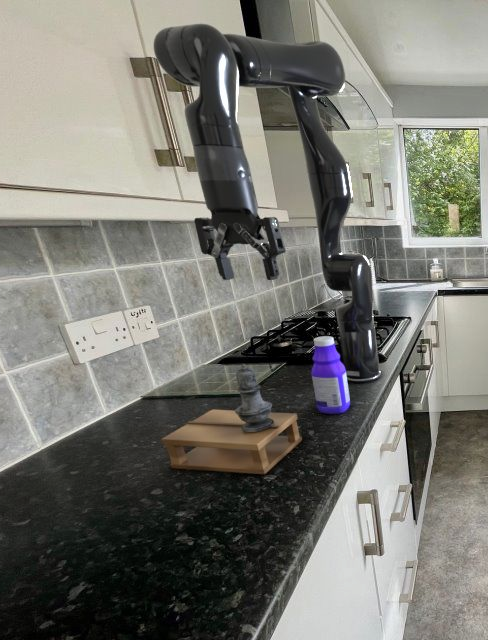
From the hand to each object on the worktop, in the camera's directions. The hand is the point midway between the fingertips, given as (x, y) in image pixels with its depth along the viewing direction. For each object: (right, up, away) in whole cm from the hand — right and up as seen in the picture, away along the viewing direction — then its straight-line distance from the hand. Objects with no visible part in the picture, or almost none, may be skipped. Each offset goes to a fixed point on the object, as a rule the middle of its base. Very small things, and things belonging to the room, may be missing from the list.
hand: (250, 279), depth 74 cm
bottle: (+7, -25, +22) cm, 34 cm away
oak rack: (-4, -32, +4) cm, 33 cm away
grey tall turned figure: (+1, -27, +1) cm, 27 cm away
